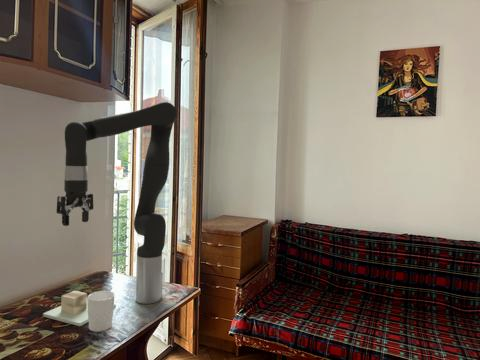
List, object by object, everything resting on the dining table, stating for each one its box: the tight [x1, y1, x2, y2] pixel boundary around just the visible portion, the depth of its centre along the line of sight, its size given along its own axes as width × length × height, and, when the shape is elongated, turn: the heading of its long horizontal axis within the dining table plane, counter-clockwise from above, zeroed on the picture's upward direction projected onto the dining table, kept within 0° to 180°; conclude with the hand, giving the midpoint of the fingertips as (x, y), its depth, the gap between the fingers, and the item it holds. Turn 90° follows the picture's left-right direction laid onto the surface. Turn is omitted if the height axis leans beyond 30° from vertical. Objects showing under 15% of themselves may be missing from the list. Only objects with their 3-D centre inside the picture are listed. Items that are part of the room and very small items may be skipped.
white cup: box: [87, 290, 115, 333], centre depth 107 cm, size 8×8×10 cm
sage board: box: [42, 301, 117, 327], centre depth 118 cm, size 16×16×1 cm
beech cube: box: [60, 290, 88, 315], centre depth 116 cm, size 6×6×6 cm
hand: (75, 223), depth 123 cm, fingers open, 8 cm apart
